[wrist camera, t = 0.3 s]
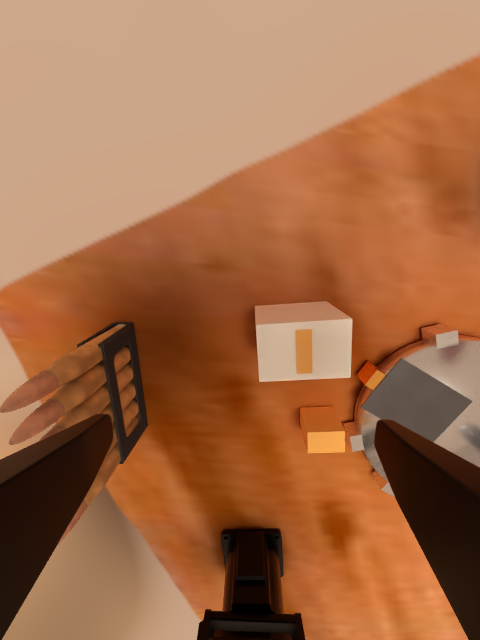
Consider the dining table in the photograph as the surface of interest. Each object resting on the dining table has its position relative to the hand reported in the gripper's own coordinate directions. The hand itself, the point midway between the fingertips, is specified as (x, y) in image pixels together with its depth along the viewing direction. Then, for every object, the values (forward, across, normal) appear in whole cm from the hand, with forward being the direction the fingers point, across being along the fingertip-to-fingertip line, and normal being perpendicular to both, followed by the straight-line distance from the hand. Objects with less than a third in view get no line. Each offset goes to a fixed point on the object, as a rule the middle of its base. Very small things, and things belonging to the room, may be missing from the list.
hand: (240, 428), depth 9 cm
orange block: (+14, -6, +9) cm, 18 cm away
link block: (+14, -4, 0) cm, 15 cm away
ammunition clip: (+15, +11, +5) cm, 19 cm away
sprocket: (+14, -17, +8) cm, 24 cm away
